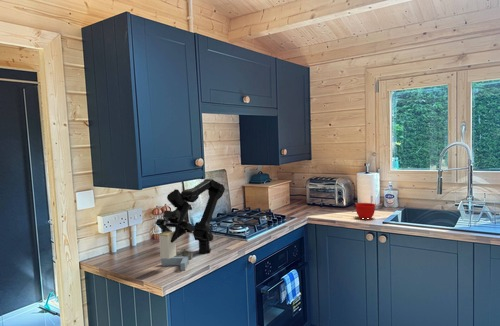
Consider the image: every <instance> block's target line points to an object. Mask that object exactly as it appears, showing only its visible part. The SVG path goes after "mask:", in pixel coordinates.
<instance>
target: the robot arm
mask: <svg viewBox="0 0 500 326" xmlns="http://www.w3.org/2000/svg"><path fill="white" fill-rule="evenodd" d="M225 190H226V188H225V186H224V184H222V183H220V182H218V181H215V179H212V178H206V179H204V180H203V181H202V182H200V183H198V184H197V185H195V186H194V187H192V188H187V189H183V190H182V191H181V192H180V190H179V189H176V188H175V189H174V190H172V191H171V192H169V194H167V196H166V200H167V201H168V202H169V203H170V205H171V206H173V207H174V208H175V209H174V210H164V211H163V215H162V216H163V218H157V220H156V221H155V225H157V227H159V228H160V229H161V231H162V232H161V233H163V232H165V231H171V229H170V228H174V229H175V230H174V231H173V232H174V234H173V236H172V239H171V243H173V242H174V241H175V242H176V240H178V239H179V238H180V237H181V236H183V235H185V234H187V233H190V234H191V233H192V234H193V238H194V240H195V241H198V251H197V254H211V251H212V248H211V246H210V242H212V241H213V240H214V235H213V233H212V232H211V225H210V223H211V220H212V218H213V214H214V213H215V209H216V206H217V204H218V201H219V200H220V199H221V198H222V197H223V195H224V194H225ZM206 191H207V193H208V199H207V202H206V204H205V205H206V206H205V208H204V211H203V213H202V216H201V218H200V221H198V222H197V221H196V222H195V224H194V226H193V224H192V223H190V221H187V217H186V216H187V215H188V211H192V210H193V207H192V204H190V203H195V202H196V201H197V200H199V196H200V195H202V193H204V192H206Z"/></svg>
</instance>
